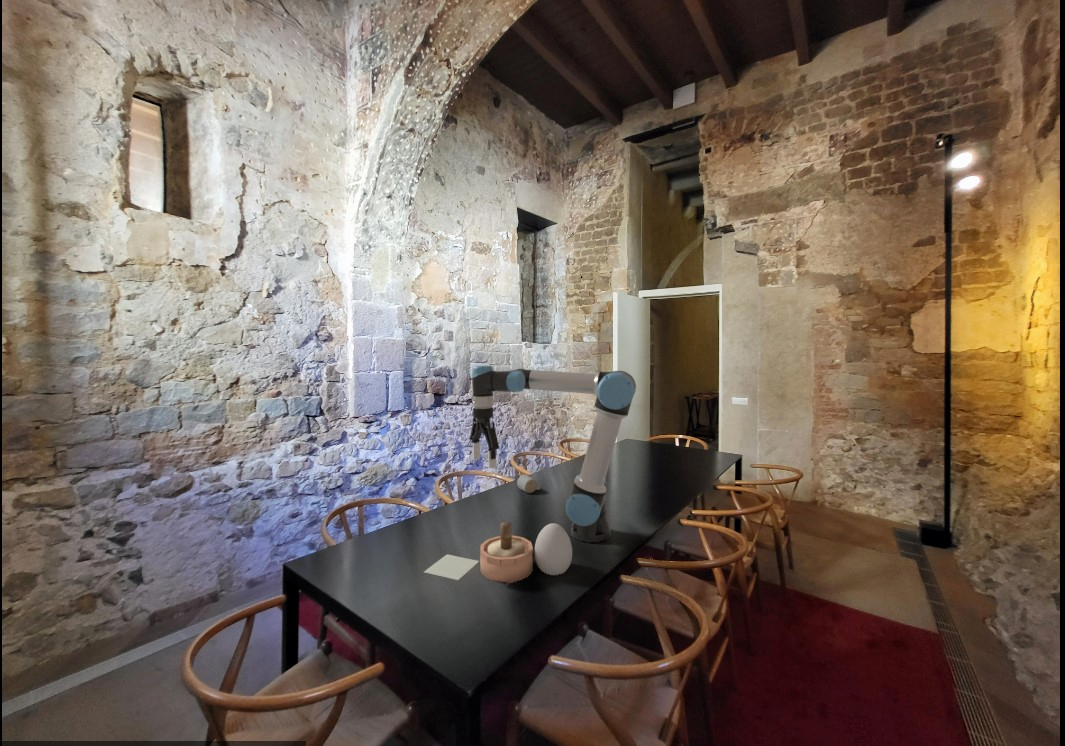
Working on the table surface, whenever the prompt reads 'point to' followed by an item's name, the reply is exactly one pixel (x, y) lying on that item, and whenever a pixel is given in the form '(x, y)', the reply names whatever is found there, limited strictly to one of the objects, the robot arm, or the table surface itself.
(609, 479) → the table surface
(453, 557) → the sage mat
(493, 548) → the oak lid
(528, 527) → the table surface
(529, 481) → the ceramic mug
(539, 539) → the decorative egg
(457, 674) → the table surface
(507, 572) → the terracotta bowl
